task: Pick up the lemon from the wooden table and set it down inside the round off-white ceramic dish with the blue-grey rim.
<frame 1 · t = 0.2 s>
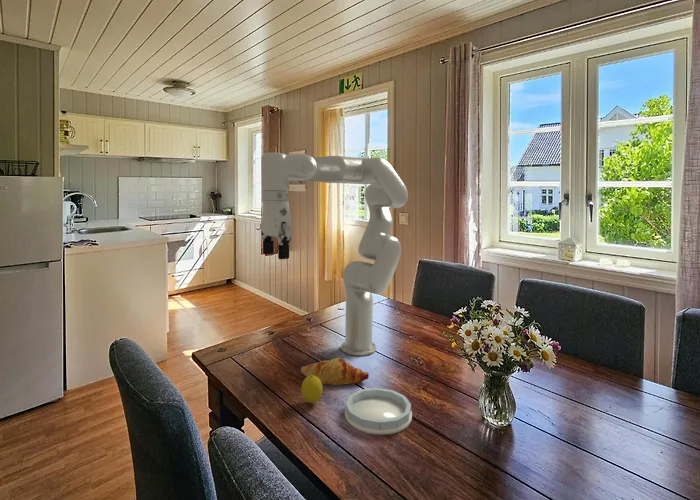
hand: (275, 256, 119), 37 cm above the table, tool pointing down, fingers open, 9 cm apart
croissant: (334, 379, 123), on the table
lemon: (312, 404, 109), on the table
dish: (378, 414, 104), on the table
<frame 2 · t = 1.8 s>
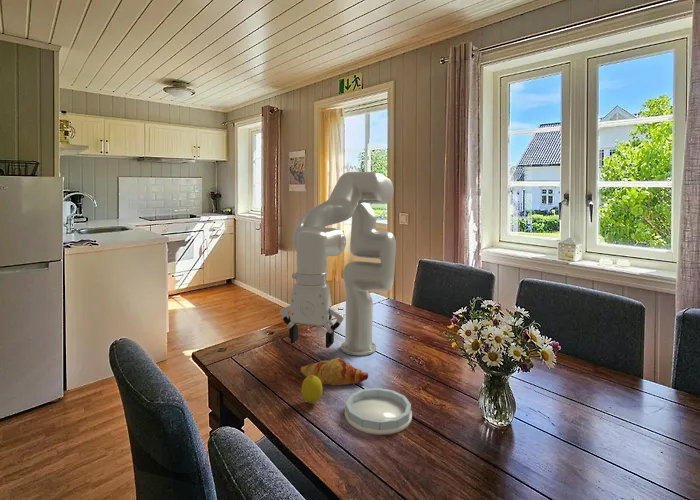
hand: (311, 343, 106), 17 cm above the table, tool pointing down, fingers open, 9 cm apart
nothing on the table moved.
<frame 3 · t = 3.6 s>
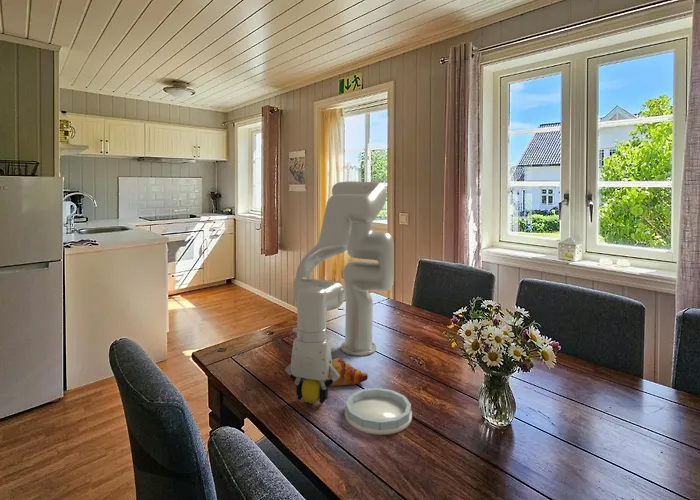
hand: (312, 398, 108), 1 cm above the table, tool pointing down, fingers closed on lemon, 5 cm apart
lemon: (312, 404, 109), on the table, touching gripper
everything else where it was.
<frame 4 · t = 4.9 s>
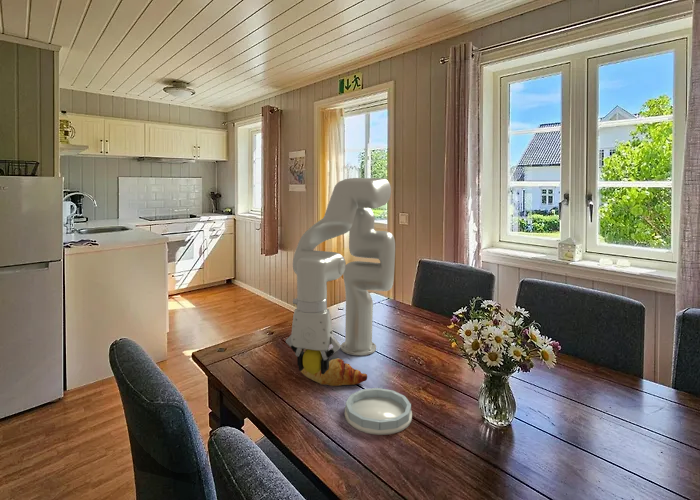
hand: (313, 369, 108), 9 cm above the table, tool pointing down, fingers closed on lemon, 5 cm apart
lemon: (313, 375, 108), point 8 cm above the table, touching gripper
everything else where it was.
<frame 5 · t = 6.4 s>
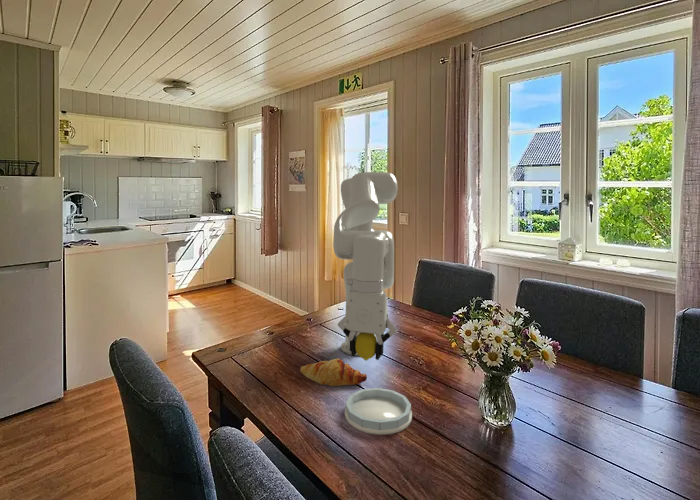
hand: (366, 355, 102), 15 cm above the table, tool pointing down, fingers closed on lemon, 5 cm apart
lemon: (365, 361, 102), point 14 cm above the table, touching gripper
everything else where it was.
when the fingers open (4 cm above the table, at t = 9.2 s): lemon drops 2 cm, resting on dish.
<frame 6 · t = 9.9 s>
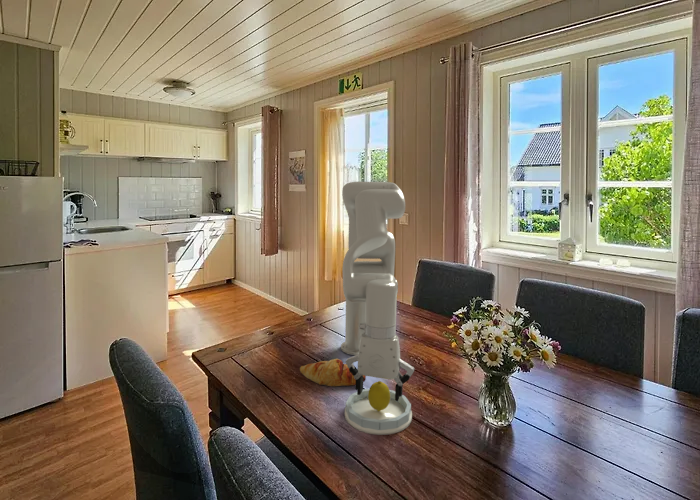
hand: (378, 395, 103), 5 cm above the table, tool pointing down, fingers open, 9 cm apart
lemon: (378, 411, 104), point 1 cm above the table, touching dish
everything else where it was.
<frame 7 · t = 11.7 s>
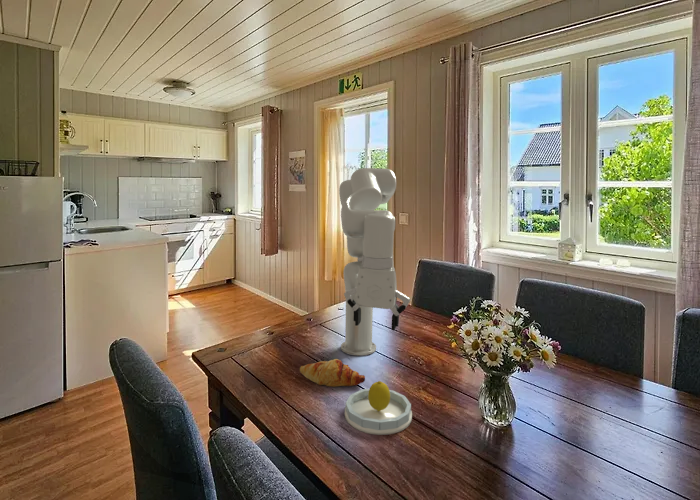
hand: (375, 326, 107), 21 cm above the table, tool pointing down, fingers open, 9 cm apart
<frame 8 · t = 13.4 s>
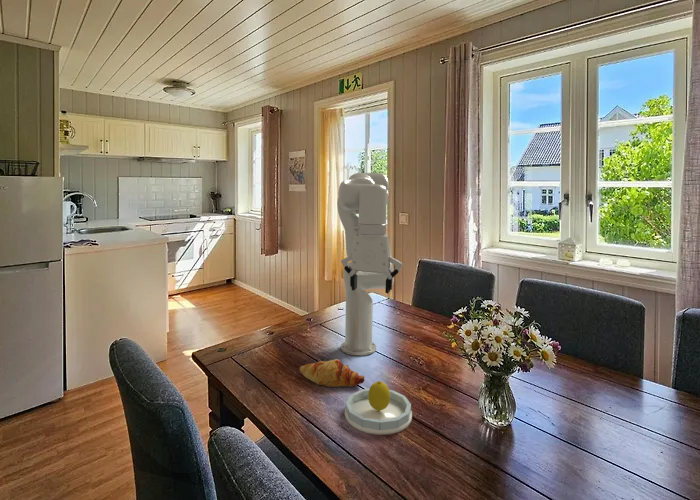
hand: (370, 290, 115), 28 cm above the table, tool pointing down, fingers open, 9 cm apart
at the end: lemon inside the target area on the dish (0.1 cm from its centre), point 0.8 cm above the dish's base; the gripper is holding nothing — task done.
